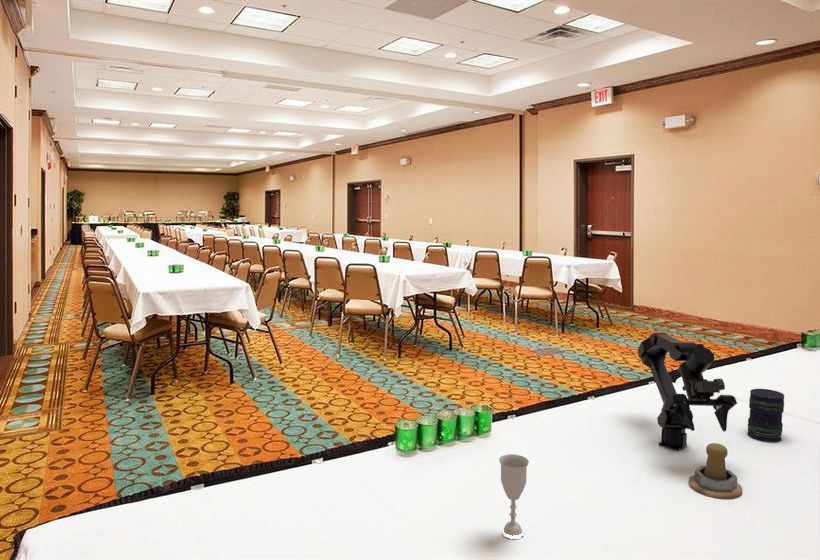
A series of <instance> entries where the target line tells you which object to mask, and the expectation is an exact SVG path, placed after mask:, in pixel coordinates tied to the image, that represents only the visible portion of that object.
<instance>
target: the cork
mask: <svg viewBox="0 0 820 560" xmlns="http://www.w3.org/2000/svg"><path fill="white" fill-rule="evenodd" d="M705 452H706V455H707V458H706V463H705V466H706V468H705V472H704V476H706V477H709V478H712V479H716V480H727V477H726V458H727V456H728V453H729V452H728V448H727V447H726V446H725V445H723V444H721V443H718V442H717V443H716V442H712V443H708V444H707V445H706V448H705Z"/></svg>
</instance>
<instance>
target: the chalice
mask: <svg viewBox="0 0 820 560" xmlns="http://www.w3.org/2000/svg"><path fill="white" fill-rule="evenodd" d="M498 462H499V463H500V483H501V485H502V489H503V490H504V493H505V496H506V498H508V500H510V502H511V503H510V505H509V508H510V513H508V514H509V516H510V520H509V521H508V522H506V524H505V525H504V527H503V530H504V532H505V533H506V534H509V535H512V536H513V535H519V534H521V533H522V532H523V530H522V526H521V525H520V524H519V523H518V522H517V521H516V517H517V515H518V514H517V512H516V509H517V506H516V501H518V500H519V499H520V497H521V495H522V494H523V492H524V490H525V488H526V487H525V486H526V485H527V484H526V483H527V467H528V465H529V462H530V461H529V459H528V458H527V457H525V456H523V455H520V454H511V453H510V454H504V455H501V456H500V457H499V458H498Z"/></svg>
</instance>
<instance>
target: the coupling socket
mask: <svg viewBox="0 0 820 560" xmlns="http://www.w3.org/2000/svg"><path fill="white" fill-rule="evenodd" d="M705 468H706V465H700V466H699V467H697V468H696V469H694V474H692V475H690V477H688V486H689V487H690V488H691V489H692V490H693V491H695V492H697V493H698V494H701V495H704V496H705V497H710V498H714V499H720V500H733V499H734V500H735V499H737V498H739V497H741V496H742V495H743V486H742V485H741V484H740V483H739V482H738V476H737V475H736V474H734V472H733V471H732V470H729V469H726V477H727V480H716V479H712V478H709V477H706V476H704V472H705Z"/></svg>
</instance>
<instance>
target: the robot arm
mask: <svg viewBox="0 0 820 560" xmlns="http://www.w3.org/2000/svg"><path fill="white" fill-rule="evenodd" d="M668 353H669V357H670V358H671V359H672V360H673V361H674V362H681V364H679V367H678V368H677V374H680V377H681V379H682V382H683V386H682V387H681V388H682V391H685V393H686V394H685V393H677V391H676V388H675V386H674V384H673V382H672V381H673V380H672V379H671V376H670V374H669V372H668V369H667V367H666V364H665V360H666V358H667V357H666V356H667V354H668ZM637 355H638V358H640V361H641V363H642V364H643V365H644V366H646V367H647V368H649V370H650V372H651V374H652V377H653V380H654V382H655V384H656V387H657V390H658V392H659V395H660V398H661V400H662V403H663V404H662V406H661V410H660V411H661V412H660V413H659V415H658V416H657V418H656V419H657V425H659V427H660V428H661V436H660V439H661V441H660V442H658V445H659V446H662V447H666V448H669V449H672V450H676V451H680V450H682V449H683V448H686V447H687V446H688V443H687V438H688V434H687V432H686V430H687V429H688V430H691V432H694V431H695V424H694V420H693V419H694V414H693V412H692V410H691V406H697V407H699V406H704V407H707V406H708V407H709V406H710V407H713V409H714V410H715V411H714V415H715V417H716V420H717V421H718V424H719V427H720V428H721V431H722V432H726V431H727V427H728V425H727V424H728V414H729V411H730V410H731V409H733V407H734V406H736V405H737V404H738V401H737V399H736V397H735V396H734V395H732V394H720V395H719V396H717V397H716V398H711V397H714V396H715V393H717V394H719V393H721V391H725V390H726V389H725V388H726V385H725V381H724V379H723V378H714V379H713V380H708V379H706V378H704V376H703V373H704V372H705V371H707V369H708V368H709V367H710V366H711V364H712V363H713V362H714V361H715V354H714V353H713V352H712V351H711V350H710V349H709V348H707V347H706V346H705V345H704V344H703V343H696V342H695V341H682V340H679V339H677V338H675V337H673V336H671V335H669V334H668V333H665V332H653V333H651V334H650V335H649V337H647V338H646V339H644V340H642V341H641V342H640V344H639V346H638V349H637Z"/></svg>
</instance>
